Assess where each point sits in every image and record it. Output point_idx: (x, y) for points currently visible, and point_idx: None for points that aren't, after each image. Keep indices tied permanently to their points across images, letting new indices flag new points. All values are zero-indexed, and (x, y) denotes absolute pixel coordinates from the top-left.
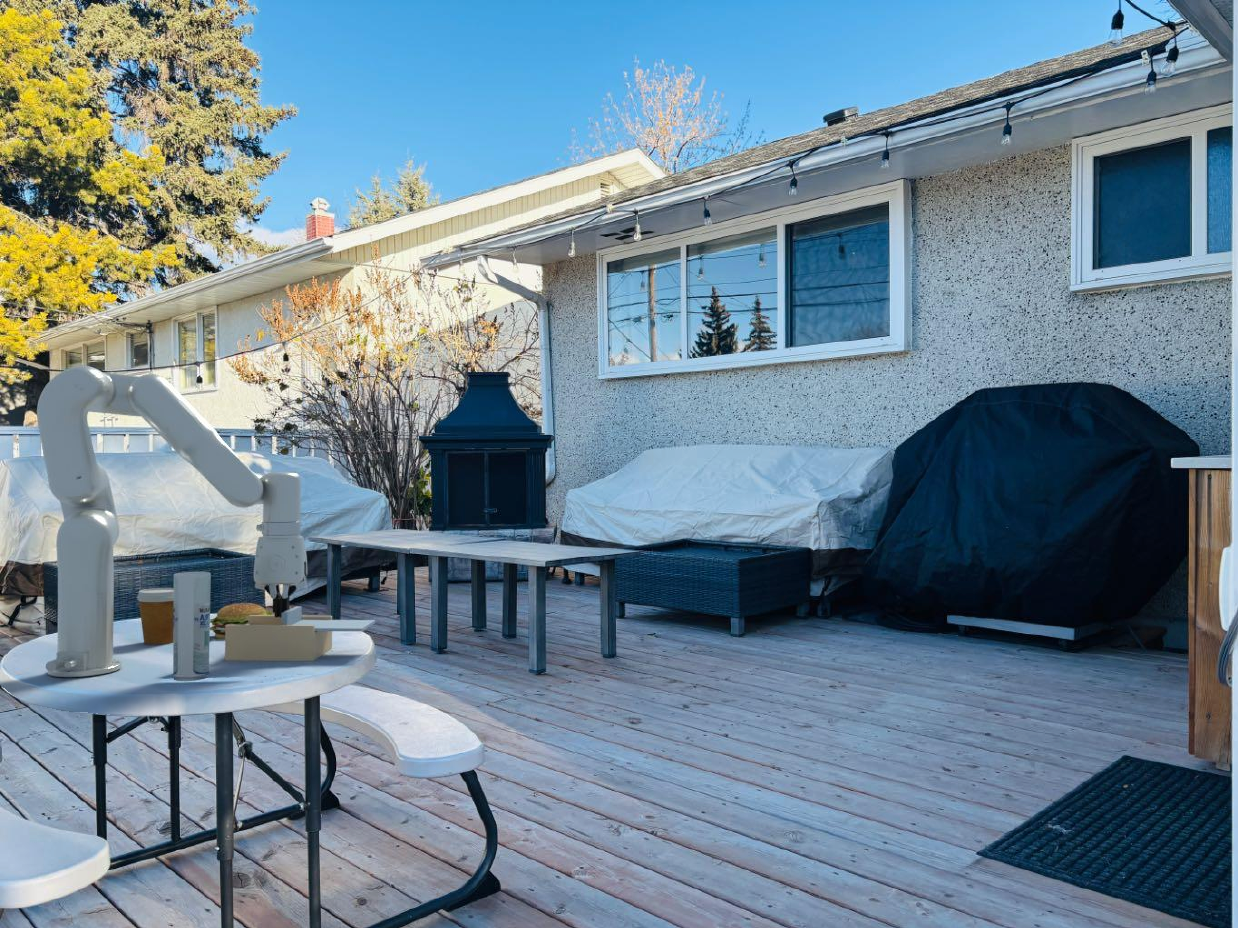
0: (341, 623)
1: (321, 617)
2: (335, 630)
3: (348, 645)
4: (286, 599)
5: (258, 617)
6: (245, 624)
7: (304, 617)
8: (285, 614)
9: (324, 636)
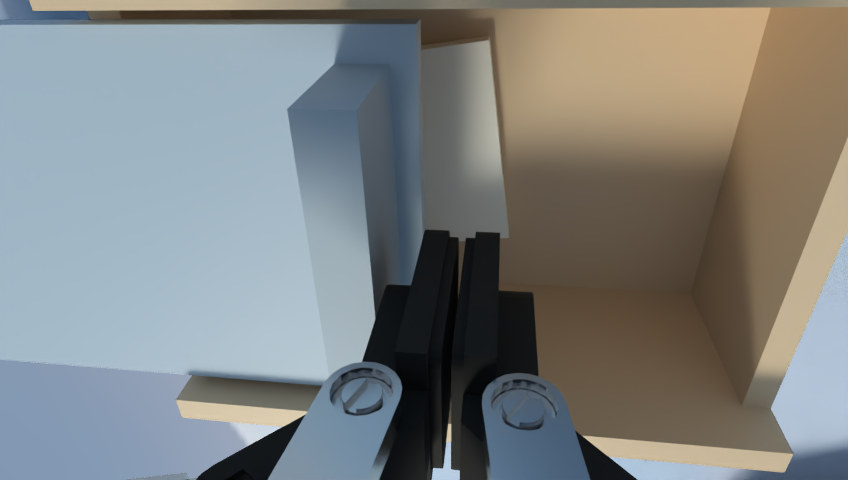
0: (22, 249)
1: (244, 400)
2: None
3: None
4: (361, 372)
5: (705, 435)
6: (787, 363)
7: None
8: (314, 103)
9: None
